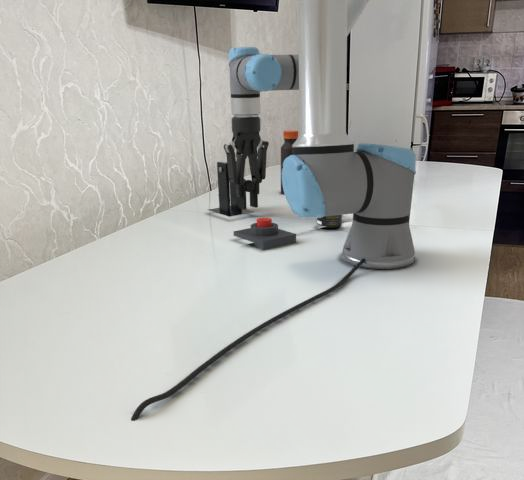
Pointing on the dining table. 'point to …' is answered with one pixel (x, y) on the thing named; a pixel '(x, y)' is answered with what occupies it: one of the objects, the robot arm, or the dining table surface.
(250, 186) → the switch lever
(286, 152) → the bottle
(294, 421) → the dining table surface
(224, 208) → the lever switch
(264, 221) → the button
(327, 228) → the supplement container
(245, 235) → the dark grey base plate
